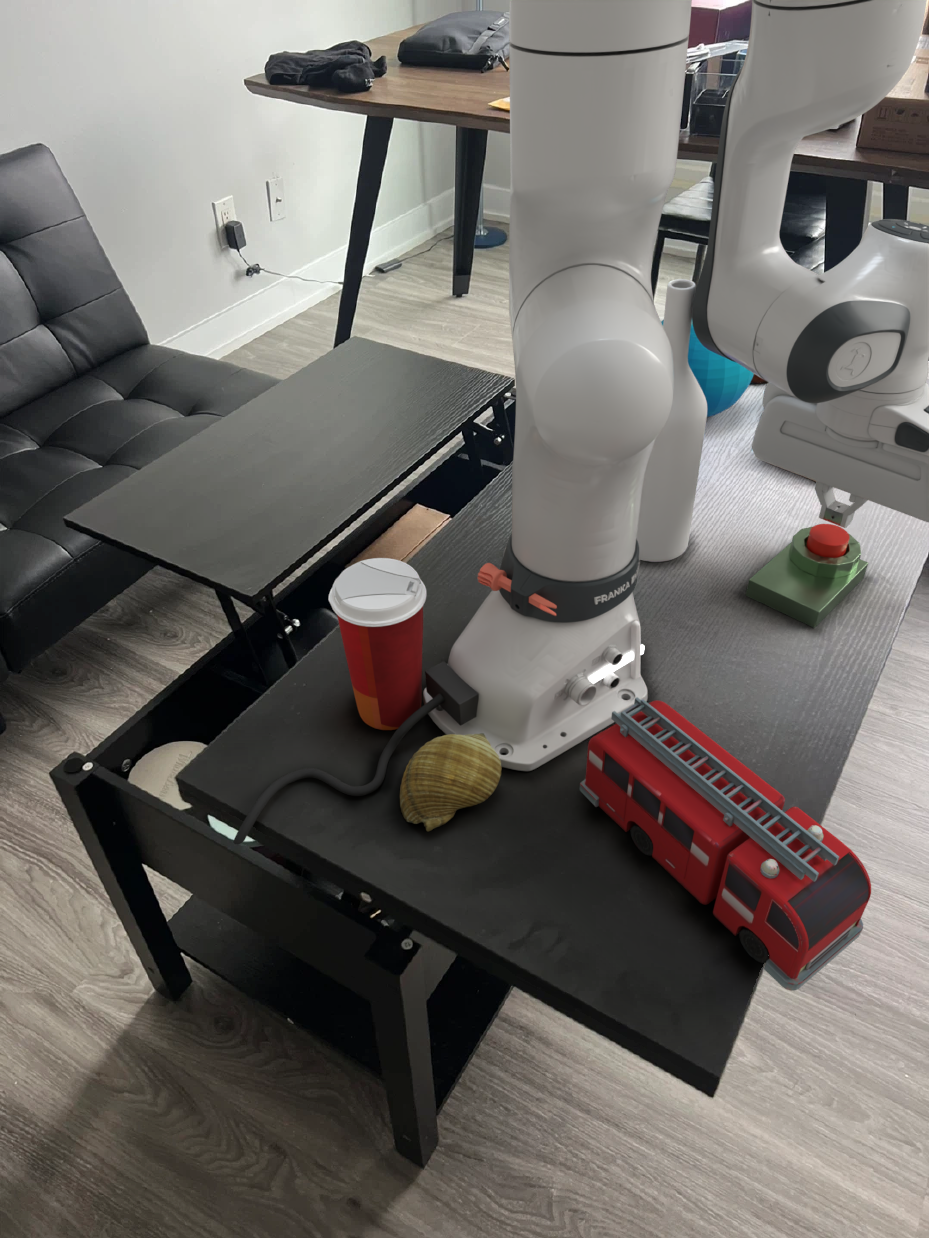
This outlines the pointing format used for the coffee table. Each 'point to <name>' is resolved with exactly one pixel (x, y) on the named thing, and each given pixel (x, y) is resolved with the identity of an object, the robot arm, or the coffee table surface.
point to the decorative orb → (716, 376)
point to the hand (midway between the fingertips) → (834, 521)
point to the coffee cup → (382, 637)
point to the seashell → (448, 778)
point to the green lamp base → (807, 580)
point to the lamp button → (827, 540)
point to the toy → (729, 840)
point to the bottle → (674, 444)
